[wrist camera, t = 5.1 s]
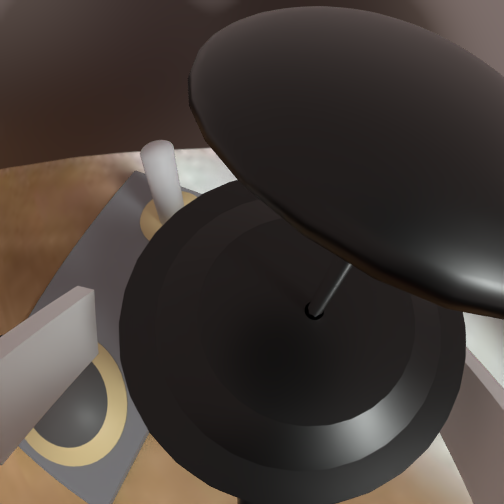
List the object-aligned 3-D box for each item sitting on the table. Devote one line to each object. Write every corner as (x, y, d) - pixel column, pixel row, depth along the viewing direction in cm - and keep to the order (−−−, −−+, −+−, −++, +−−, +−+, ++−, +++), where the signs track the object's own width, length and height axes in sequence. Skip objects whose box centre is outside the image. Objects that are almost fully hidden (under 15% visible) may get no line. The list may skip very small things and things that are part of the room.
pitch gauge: (261, 221, 29) (269, 147, 22) (108, 511, 16) (50, 540, 8) (136, 175, 32) (117, 107, 24) (-13, 409, 18) (-81, 388, 11)
